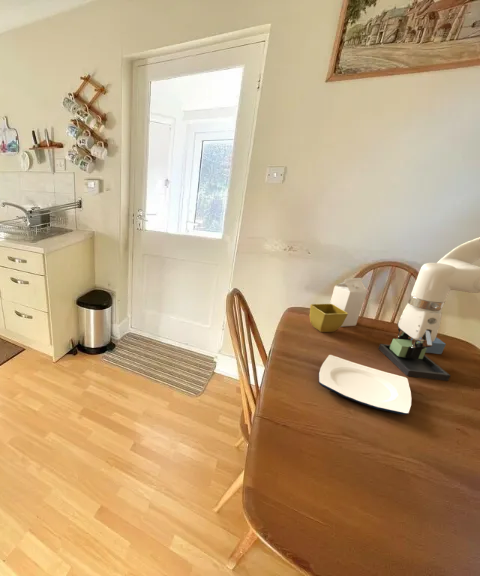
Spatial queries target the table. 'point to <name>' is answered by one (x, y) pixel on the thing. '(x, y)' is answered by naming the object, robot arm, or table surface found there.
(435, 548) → the table surface
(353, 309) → the milk carton
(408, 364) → the tray
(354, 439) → the table surface
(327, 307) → the flower pot
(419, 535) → the table surface
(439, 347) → the blue block
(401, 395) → the plate
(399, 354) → the sage pad
